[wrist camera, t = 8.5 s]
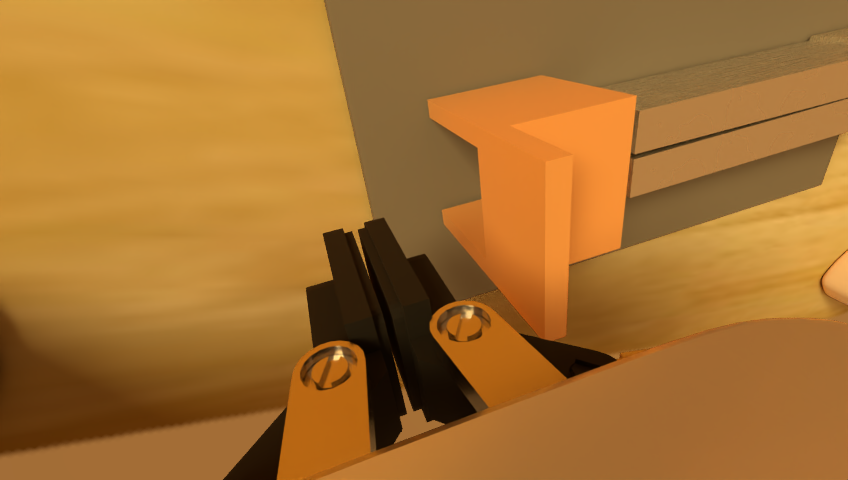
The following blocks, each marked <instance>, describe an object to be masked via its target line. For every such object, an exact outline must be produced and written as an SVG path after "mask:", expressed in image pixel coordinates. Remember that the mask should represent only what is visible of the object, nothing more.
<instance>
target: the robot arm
mask: <svg viewBox="0 0 848 480" xmlns="http://www.w3.org/2000/svg"><path fill="white" fill-rule="evenodd" d="M364 225H365V228H362V229H359V230H358V233H359V237H360V241H361V245H362V249H363V253H364V257H365V261H366V265H367V269H368V273H369V276H368V273H367V270H366V268H365V265H364V262H363V260H362V257H361V254H360V252H359V249H358V246H357V244H356V241H355V238H354V236H353V233H352V231H351V232H347V233H344V231H343V228H342V229H338V230H334V231H331V232H327V233H323V237H324V241H325V245H326V250H327V254H328V258H329V262H330V267H331V271H332V275H333V279H334V280H331V281H327V282H324V283H320V284H317V285H314V286H310V287H307V288H306V293H307V301H308V309H309V317H310V325H311V333H312V341H313V349H312V350H310V351H308V352H307V353H306V354H305V355H304V356H303V357H301V359H300V360H299V361H298V363H297V364H296V366H295V368H294V371H293V374H292V379H291V385H290V392H289V399H288V406H287V407H286V408H285V409H284V411H283V412H282V413H281V414H280V415H279V416H278V418H277V419H276V420H275V421H274V422H273V423H272V424H271V426H270V427H269V428H268V429H267V430H266V431H265V432H264V434H263V435H262V436H261V437H260V438H259V439H258V440H257V442H256V443H255V444H254V445H253V446H252V447H251V448H250V450H249V451H248V452H247V453H246V454H245V455H244V456H243V458H242V459H241V460H240V461H239V462H238V463H237V464H236V466H235V467H234V468H233V469H232V470H231V471H230V472H229V474H228V475H227V476H226V477H225V478H224V479H223V480H848V324H847V323H843V322H839V321H835V320H826V319H816V318H772V319H760V320H753V321H746V322H739V323H734V324H730V325H726V326H722V327H717V328H713V329H709V330H706V331H703V332H700V333H696V334H693V335H690V336H687V337H684V338H681V339H678V340H674V341H671V342H668V343H665V344H662V345H660V346H657V347H654V348H649V349H642V350H635V351H629V352H622V353H620V358H619V359H615V358H613V357H611V356H610V355H607V354H604V353H601V352H598V351H594V350H590V349H585V348H581V347H576V346H572V345H568V344H563V343H559V342H555V341H550V340H546V339H541V338H537V337H533V336H528V335H524V334H520V333H518V332H517V331H515V330H514V329H513V328H512V327H511V326H510V325H509V324H508V323H507V322H506V321H505V320H504V319H503V318H501V317H500V316H499V315H498V314H497V313H496V312H495V311H494V310H493V309H492V308H490V307H489V306H487V305H486V304H483V303H480V302H477V301H467V300H466V301H457V302H456V300H455V298H454V297H453V295H452V294H451V292H450V291H449V289H448V288H447V286H446V285H445V283H444V281H443V280H442V278H441V277H440V275H439V274H438V272H437V271H436V269H435V268H434V266H433V264H432V263H431V261H430V260H429V258H428V257H427V256H426V254H421V255H417V256H414V257H410V258H406V256H405V254H404V252H403V251H402V249H401V247H400V245H399V244H398V242H397V240H396V238H395V236H394V235H393V233H392V231H391V229H390V227H389V226H388V224H387V222H386V220H385V218H384V217H383V218H379V219H376V220H372V221H368V222H364ZM369 277H370V278H369ZM392 353H393V354H392ZM393 355H394V358H395V361H396V364H397V367H398V369H399V372H400V375H401V378H402V380H403V383H404V386H405V389H406V392H407V394H408V397H409V400H410V403H411V406H412V408H413V411H416V410H419V409H422V411H423V413H424V416H425V418H426V421H427V422H429V421H432V420H436V421H439V422H441V423H444V424H445V425H443V426H440V427H438V428H435V429H432V430H430V431H427V432H424V433H422V434H419V435H416V436H414V437H411V438H408V439H406V440H403V441H400V442H398V443H395V444H394V442H395V441H396V439H397V437H398V435H399V434H400V432H402V425H401V421H400V416H403V415H405V414H407V412H406V408H405V404H404V399H403V395H402V391H401V387H400V383H399V379H398V375H397V370H396V366H395V362H394V358H393Z"/></svg>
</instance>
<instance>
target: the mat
mask: <svg viewBox="0 0 848 480" xmlns="http://www.w3.org/2000/svg"><path fill="white" fill-rule="evenodd" d="M324 2H325V7H326V11H327V16H328V20H329V25H330V29H331V33H332V38H333V42H334V47H335V51H336V56H337V60H338V65H339V69H340V74H341V78H342V82H343V87H344V91H345V96H346V100H347V105H348V109H349V114H350V118H351V123H352V127H353V131H354V136H355V140H356V145H357V149H358V154H359V158H360V163H361V167H362V172H363V176H364V181H365V185H366V189H367V194H368V198H369V203H370V207H371V212H372V216H373V220H376V219H379V218H383V217H384V218H385V220H386V222H387V224H388V226H389V227H390V229H391V231H392V233H393V235H394V236H395V238H396V240H397V242H398V244H399V245H400V247H401V249H402V251H403V252H404V254H405V256H406V258H410V257H414V256H417V255H421V254H426V256H427V257H428V258H429V260H430V261H431V263H432V264H433V266H434V268H435V269H436V271H437V272H438V274H439V275H440V277H441V278H442V280H443V281H444V283H445V285H446V286H447V288H448V289H449V291H450V292H451V294H452V295H453V297H454V298H455V300H456V302H457V301H462V300H465V299H468V298H471V297H474V296H477V295H480V294H483V293H487V292H490V291H493V290H496V289H498V288H497V286H496V285H495V284H494V283H493V282H492V281H491V279H490V278H489V277H488V276H487V275H486V273H485V272H484V271H483V270H482V269H481V267H480V266H479V265H478V264H477V263H476V262H475V260H474V259H473V258H472V257H471V256H470V254H469V253H468V252H467V251H466V250H465V248H464V247H463V246H462V245H461V244H460V243H459V241H458V240H457V239H456V238H455V237H454V235H453V234H452V233H451V232H450V231H449V230H448V228H447V227H446V226H445V225H444V223H443V215H442V210H443V209H447V208H451V207H454V206H458V205H462V204H465V203H469V202H473V201H476V200H480V199H481V187H480V174H479V161H478V148H477V147H475V146H474V145H472V144H471V143H469V142H467V141H466V140H464V139H463V138H461V137H459V136H458V135H456V134H455V133H453V132H452V131H450V130H448V129H447V128H445V127H444V126H442V125H440V124H439V123H437V122H436V121H434V120H432V119H431V118H430V117H429V109H428V101H427V100H428V99H433V98H438V97H442V96H447V95H452V94H456V93H461V92H466V91H470V90H475V89H479V88H484V87H489V86H493V85H498V84H503V83H507V82H512V81H517V80H521V79H526V78H530V77H535V76H540V75H543V76H548V77H553V78H557V79H562V80H567V81H571V82H576V83H581V84H585V85H590V86H595V87H599V88H600V87H604V86H609V85H613V84H618V83H622V82H627V81H631V80H636V79H640V78H644V77H649V76H653V75H658V74H662V73H667V72H671V71H676V70H680V69H685V68H689V67H693V66H698V65H702V64H707V63H711V62H716V61H720V60H725V59H729V58H734V57H738V56H742V55H747V54H751V53H756V52H760V51H765V50H769V49H774V48H778V47H783V46H787V45H791V44H796V43H800V42H805V41H809V38H810V36H813V35H818V34H822V33H827V32H831V31H836V30H840V29H845V28H848V0H324ZM838 136H839V135H836V136H832V137H829V138H826V139H823V140H819V141H816V142H813V143H809V144H806V145H803V146H800V147H796V148H793V149H790V150H786V151H783V152H780V153H777V154H773V155H770V156H767V157H763V158H760V159H757V160H754V161H750V162H747V163H744V164H740V165H737V166H734V167H731V168H727V169H724V170H721V171H717V172H714V173H711V174H708V175H704V176H701V177H698V178H694V179H691V180H688V181H685V182H681V183H678V184H675V185H671V186H668V187H665V188H662V189H658V190H655V191H652V192H648V193H645V194H642V195H639V196H635V197H632V198H629V197H627V196H626V200H625V210H624V219H623V228H622V237H621V247H620V248H619V249H616V250H613V251H610V252H607V253H604V254H601V255H605V254H608V253H611V252H614V251H617V250H620V249H623V248H626V247H629V246H633V245H636V244H639V243H642V242H645V241H648V240H651V239H654V238H657V237H660V236H664V235H667V234H670V233H673V232H676V231H679V230H682V229H685V228H688V227H692V226H695V225H698V224H701V223H704V222H707V221H710V220H713V219H716V218H720V217H723V216H726V215H729V214H732V213H735V212H738V211H741V210H744V209H747V208H751V207H754V206H757V205H760V204H763V203H766V202H769V201H772V200H775V199H779V198H782V197H785V196H788V195H791V194H794V193H797V192H800V191H803V190H806V189H810V188H813V187H816V186H819V185H821V184H822V182H823V179H824V176H825V173H826V170H827V168H828V165H829V162H830V159H831V156H832V153H833V151H834V148H835V145H836V142H837V139H838ZM601 255H598V256H601ZM598 256H594V257H591V258H588V259H585V260H582V261H579V262H576V263H573V264H570V265H574V264H577V263H580V262H583V261H586V260H589V259H592V258H595V257H598ZM570 265H569V266H570Z"/></svg>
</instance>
